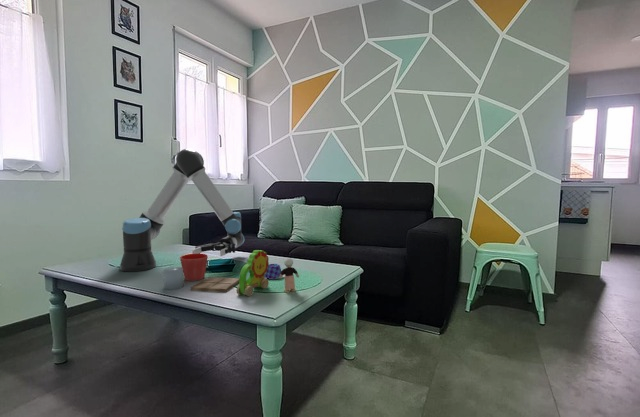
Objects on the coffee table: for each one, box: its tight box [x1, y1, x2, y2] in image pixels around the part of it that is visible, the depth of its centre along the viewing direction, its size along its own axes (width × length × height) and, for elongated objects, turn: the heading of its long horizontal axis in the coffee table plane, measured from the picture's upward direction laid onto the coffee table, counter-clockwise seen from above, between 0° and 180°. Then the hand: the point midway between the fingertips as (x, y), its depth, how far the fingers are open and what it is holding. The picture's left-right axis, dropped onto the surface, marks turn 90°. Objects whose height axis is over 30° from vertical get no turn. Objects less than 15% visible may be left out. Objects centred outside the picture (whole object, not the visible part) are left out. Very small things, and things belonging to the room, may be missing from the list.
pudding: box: [265, 263, 285, 280], centre depth 145 cm, size 12×12×5 cm
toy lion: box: [236, 249, 270, 297], centre depth 125 cm, size 16×5×15 cm, turn 155°
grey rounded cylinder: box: [162, 266, 184, 291], centre depth 129 cm, size 7×7×7 cm
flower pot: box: [179, 253, 209, 282], centre depth 141 cm, size 11×11×10 cm
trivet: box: [190, 276, 239, 293], centre depth 131 cm, size 14×14×1 cm
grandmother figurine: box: [279, 257, 300, 294], centre depth 124 cm, size 8×4×13 cm, turn 123°
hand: (207, 252), depth 150 cm, fingers open, 13 cm apart
